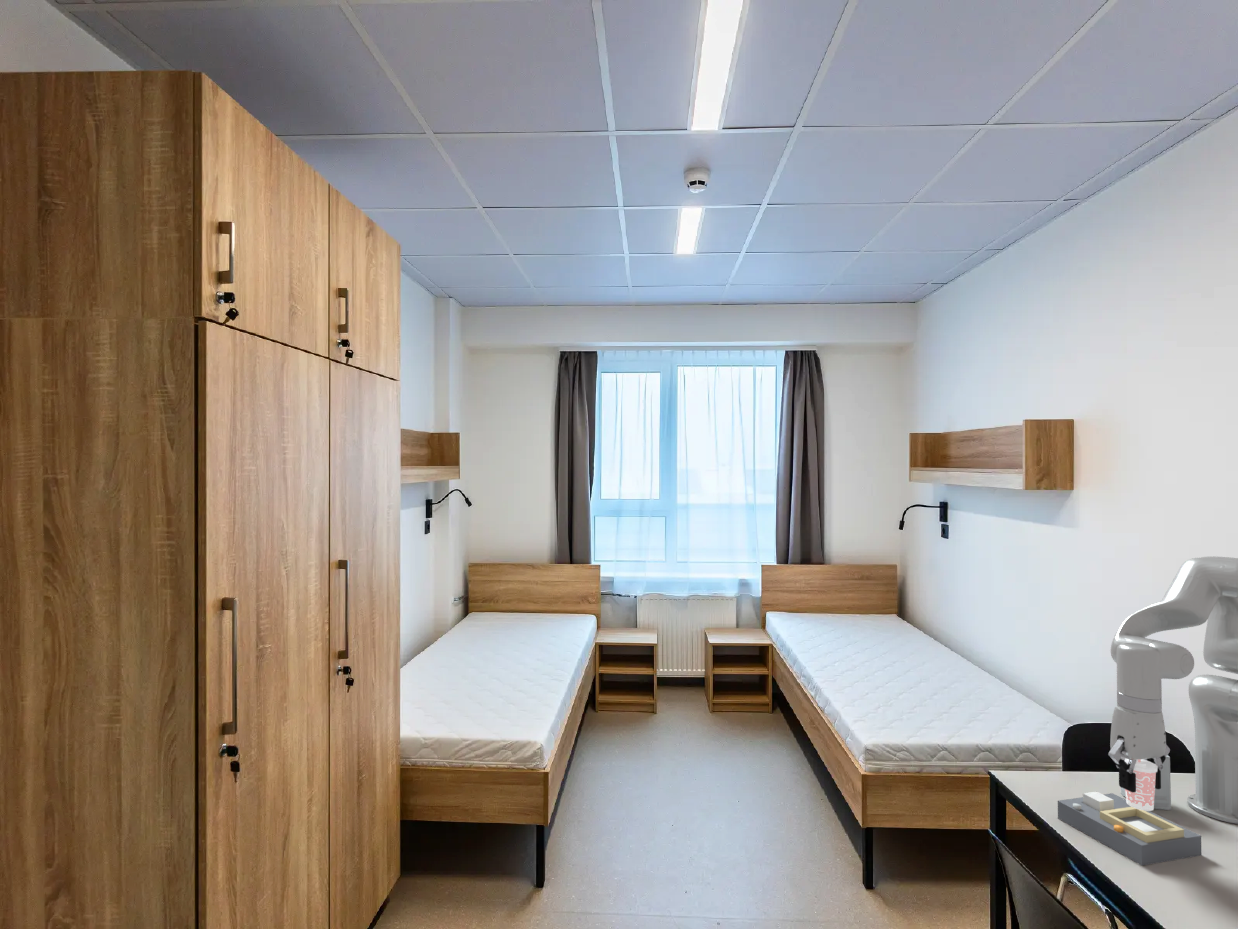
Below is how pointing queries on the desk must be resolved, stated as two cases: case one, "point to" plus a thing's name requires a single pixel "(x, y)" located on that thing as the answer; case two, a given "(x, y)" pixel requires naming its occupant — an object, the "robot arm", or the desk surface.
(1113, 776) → the desk surface
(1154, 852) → the gray panel board
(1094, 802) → the block
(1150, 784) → the beverage cup
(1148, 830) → the block
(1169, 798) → the supplement box
